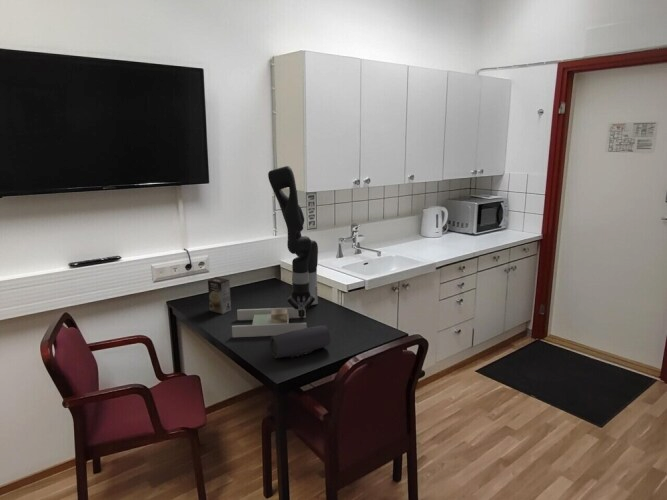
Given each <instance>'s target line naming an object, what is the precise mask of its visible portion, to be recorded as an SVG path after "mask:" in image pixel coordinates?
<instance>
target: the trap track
mask: <svg viewBox="0 0 667 500" xmlns="http://www.w3.org/2000/svg"><path fill="white" fill-rule="evenodd" d="M277 309H287V322H283V323H272V322H271V312H272V310H277ZM306 310H307V309H305V316H303V318H304V319H306V314H307V313H306ZM301 311H302V306H301ZM236 313H237V314H236V316H237V321H252V323H251V324H244V325H243V324H241V325H231V333H232V338H247V337H248V338H251V337H255V338H256V337H269V336H270V337H273V336H276V335H279V334H283V333H287V332H291V331H295V330H299V329H304V328H308V326H307V322H291V323H290V322H289V321H290V319H301V318H300V317H299V314H298V309H294V308H293V306H291V307H275V308H273V307H272V308H271V307H270V308H269V307H268V308H245V309H244V308H243V309H237V310H236ZM303 318H302V319H303Z"/></svg>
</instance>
